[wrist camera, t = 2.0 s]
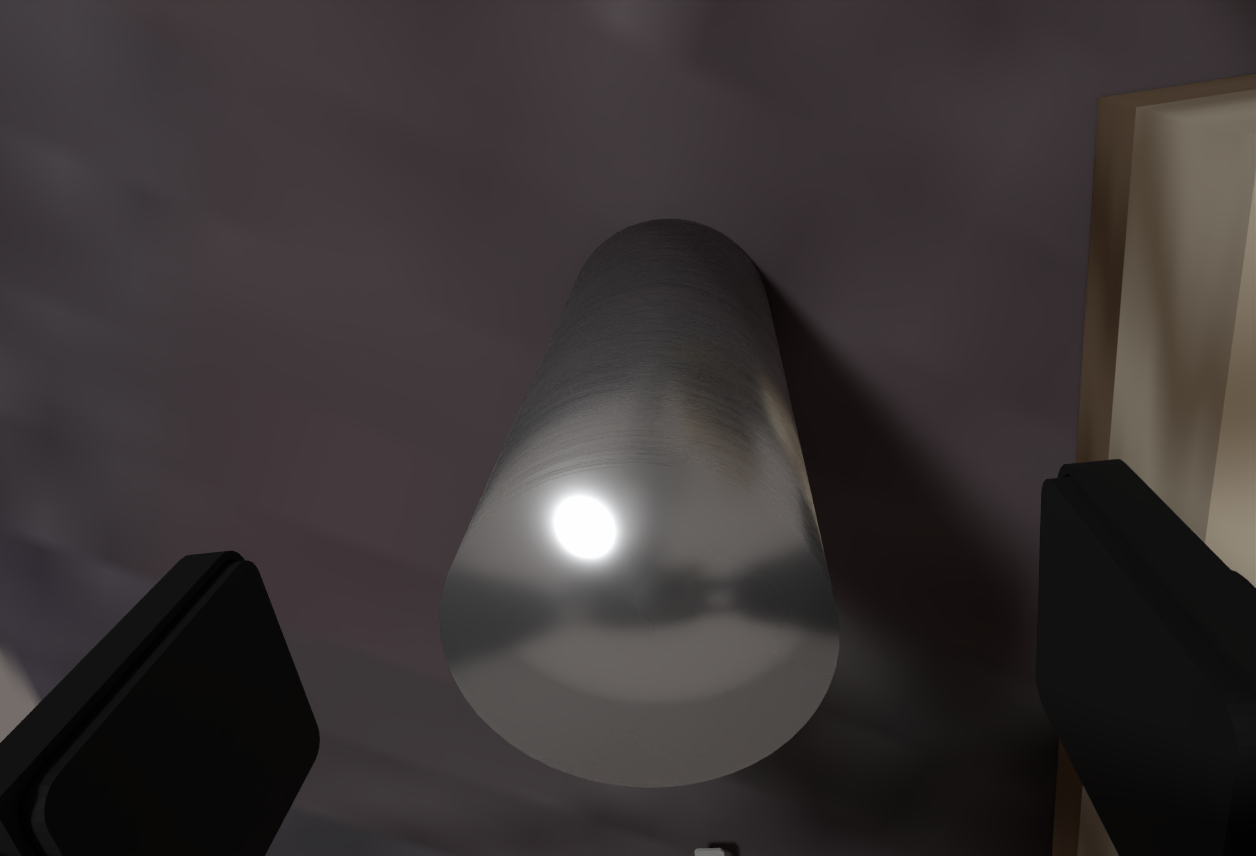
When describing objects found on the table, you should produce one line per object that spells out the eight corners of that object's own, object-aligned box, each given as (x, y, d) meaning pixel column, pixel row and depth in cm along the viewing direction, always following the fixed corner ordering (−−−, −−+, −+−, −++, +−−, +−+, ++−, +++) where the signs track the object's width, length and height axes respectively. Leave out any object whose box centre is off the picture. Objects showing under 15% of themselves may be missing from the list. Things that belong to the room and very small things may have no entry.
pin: (552, 234, 17) (393, 490, 8) (758, 204, 17) (826, 443, 8) (589, 418, 19) (488, 797, 10) (777, 396, 18) (849, 776, 9)
